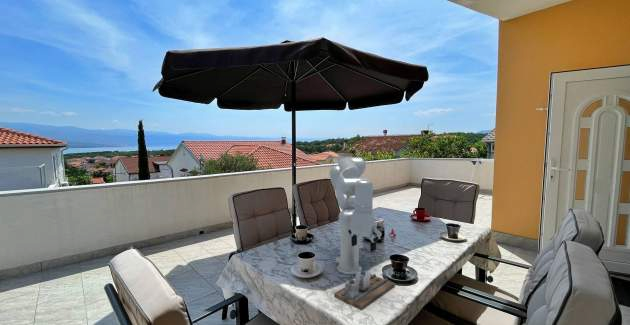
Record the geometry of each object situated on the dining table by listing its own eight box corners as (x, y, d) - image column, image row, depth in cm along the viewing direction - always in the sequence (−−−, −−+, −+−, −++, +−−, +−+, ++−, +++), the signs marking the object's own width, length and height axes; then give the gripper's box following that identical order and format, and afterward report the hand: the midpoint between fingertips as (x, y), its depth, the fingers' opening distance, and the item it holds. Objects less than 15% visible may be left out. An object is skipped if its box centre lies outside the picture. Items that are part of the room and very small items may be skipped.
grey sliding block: (355, 289, 120) (355, 272, 120) (362, 285, 124) (362, 268, 123) (363, 292, 118) (363, 274, 117) (370, 288, 121) (370, 271, 121)
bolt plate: (334, 296, 118) (334, 277, 118) (368, 276, 136) (369, 260, 136) (361, 310, 108) (361, 289, 108) (394, 286, 126) (395, 268, 126)
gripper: (342, 207, 122) (342, 245, 123) (376, 213, 110) (375, 255, 111) (352, 204, 128) (352, 241, 128) (386, 210, 115) (385, 251, 116)
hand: (363, 248), depth 120 cm, fingers open, 9 cm apart
